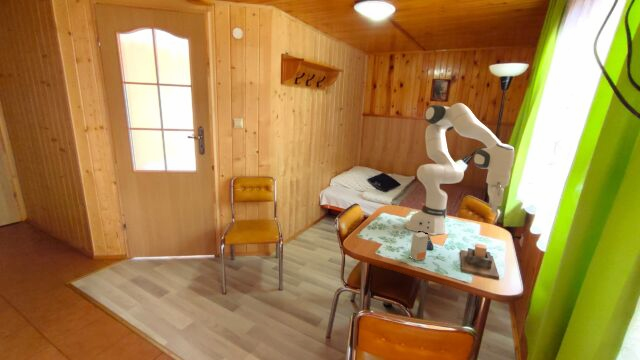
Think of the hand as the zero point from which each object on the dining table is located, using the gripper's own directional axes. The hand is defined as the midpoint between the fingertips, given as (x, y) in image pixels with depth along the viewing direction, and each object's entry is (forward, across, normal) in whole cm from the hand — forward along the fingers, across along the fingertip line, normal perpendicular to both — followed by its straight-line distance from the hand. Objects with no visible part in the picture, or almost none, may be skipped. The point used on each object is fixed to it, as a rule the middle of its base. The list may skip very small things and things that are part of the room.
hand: (491, 208), depth 138 cm
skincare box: (+25, -17, +28) cm, 41 cm away
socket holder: (+24, -10, +2) cm, 26 cm away
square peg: (+23, -10, +2) cm, 25 cm away
